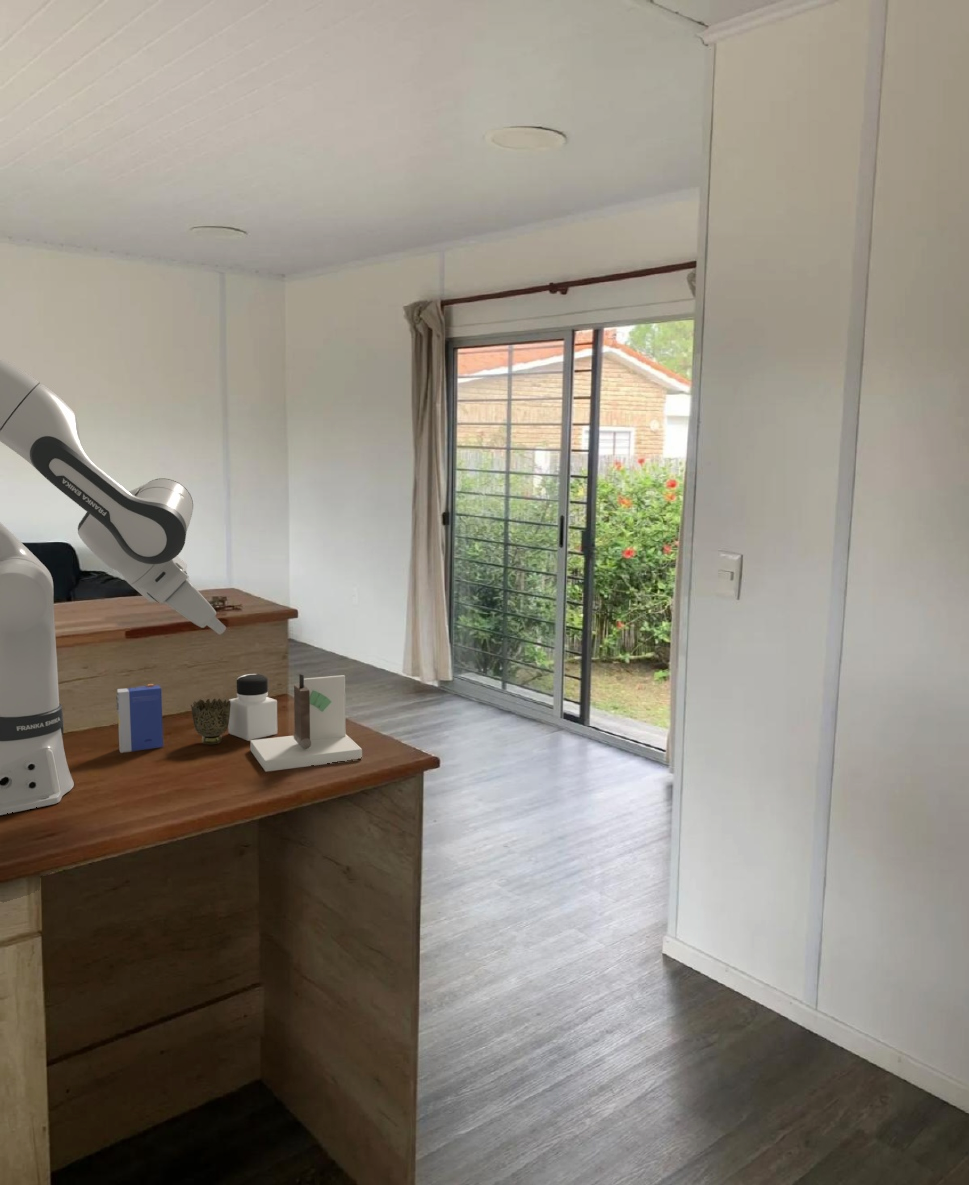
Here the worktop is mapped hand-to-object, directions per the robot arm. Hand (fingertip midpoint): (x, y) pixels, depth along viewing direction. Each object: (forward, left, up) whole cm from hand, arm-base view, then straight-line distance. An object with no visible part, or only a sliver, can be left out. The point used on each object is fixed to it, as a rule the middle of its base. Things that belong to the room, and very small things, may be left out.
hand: (221, 629), depth 171 cm
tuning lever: (+13, -6, -22) cm, 26 cm away
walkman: (-4, +21, -26) cm, 33 cm away
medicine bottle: (+16, +13, -26) cm, 33 cm away
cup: (+7, +14, -26) cm, 30 cm away
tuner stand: (+15, -5, -25) cm, 30 cm away
